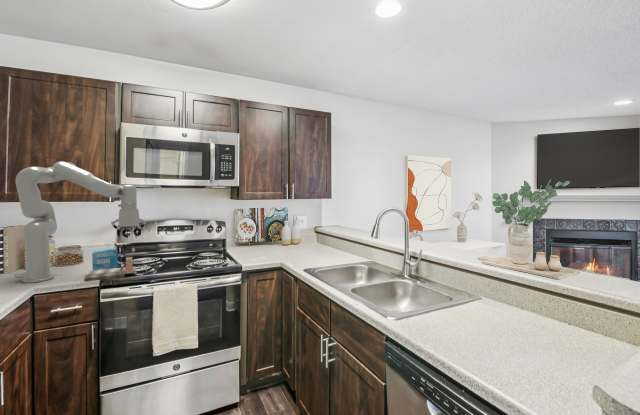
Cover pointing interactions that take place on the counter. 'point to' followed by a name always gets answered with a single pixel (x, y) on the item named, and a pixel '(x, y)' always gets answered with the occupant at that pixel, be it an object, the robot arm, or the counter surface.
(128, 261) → the stub
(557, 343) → the counter surface
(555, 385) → the counter surface
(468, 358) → the counter surface
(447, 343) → the counter surface
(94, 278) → the ticket pad
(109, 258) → the data package
